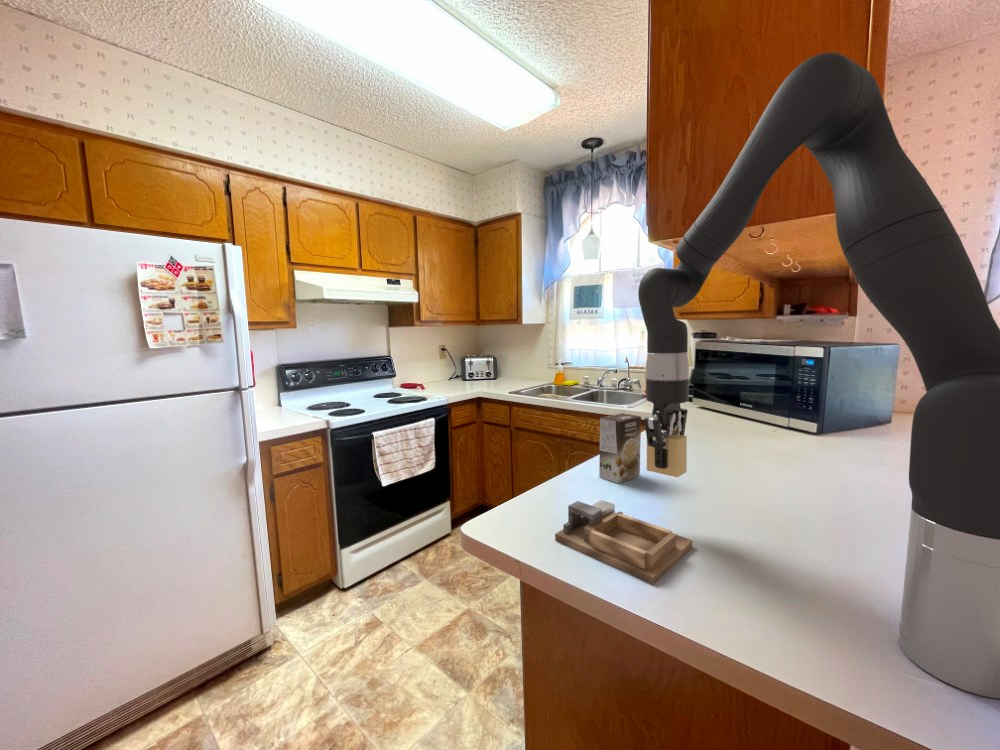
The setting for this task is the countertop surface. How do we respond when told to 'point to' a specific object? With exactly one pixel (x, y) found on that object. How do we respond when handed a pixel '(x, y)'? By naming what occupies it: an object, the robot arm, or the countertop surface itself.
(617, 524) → the brown tray fixture board
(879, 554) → the countertop surface
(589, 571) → the countertop surface
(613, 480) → the coffee box
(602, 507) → the light grey small block
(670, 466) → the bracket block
